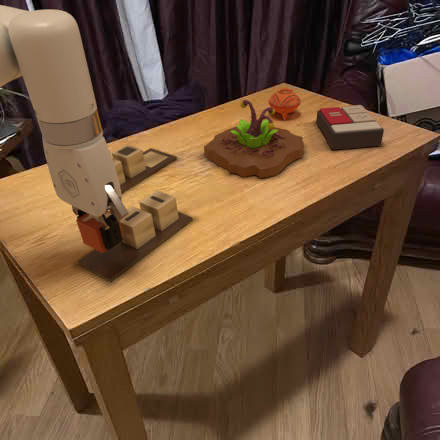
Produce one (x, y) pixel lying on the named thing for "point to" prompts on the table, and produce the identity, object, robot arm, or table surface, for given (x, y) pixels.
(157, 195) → the front word
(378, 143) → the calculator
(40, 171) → the table surface
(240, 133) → the plant
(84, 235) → the letter block
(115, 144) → the table surface
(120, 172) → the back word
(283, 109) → the pot
